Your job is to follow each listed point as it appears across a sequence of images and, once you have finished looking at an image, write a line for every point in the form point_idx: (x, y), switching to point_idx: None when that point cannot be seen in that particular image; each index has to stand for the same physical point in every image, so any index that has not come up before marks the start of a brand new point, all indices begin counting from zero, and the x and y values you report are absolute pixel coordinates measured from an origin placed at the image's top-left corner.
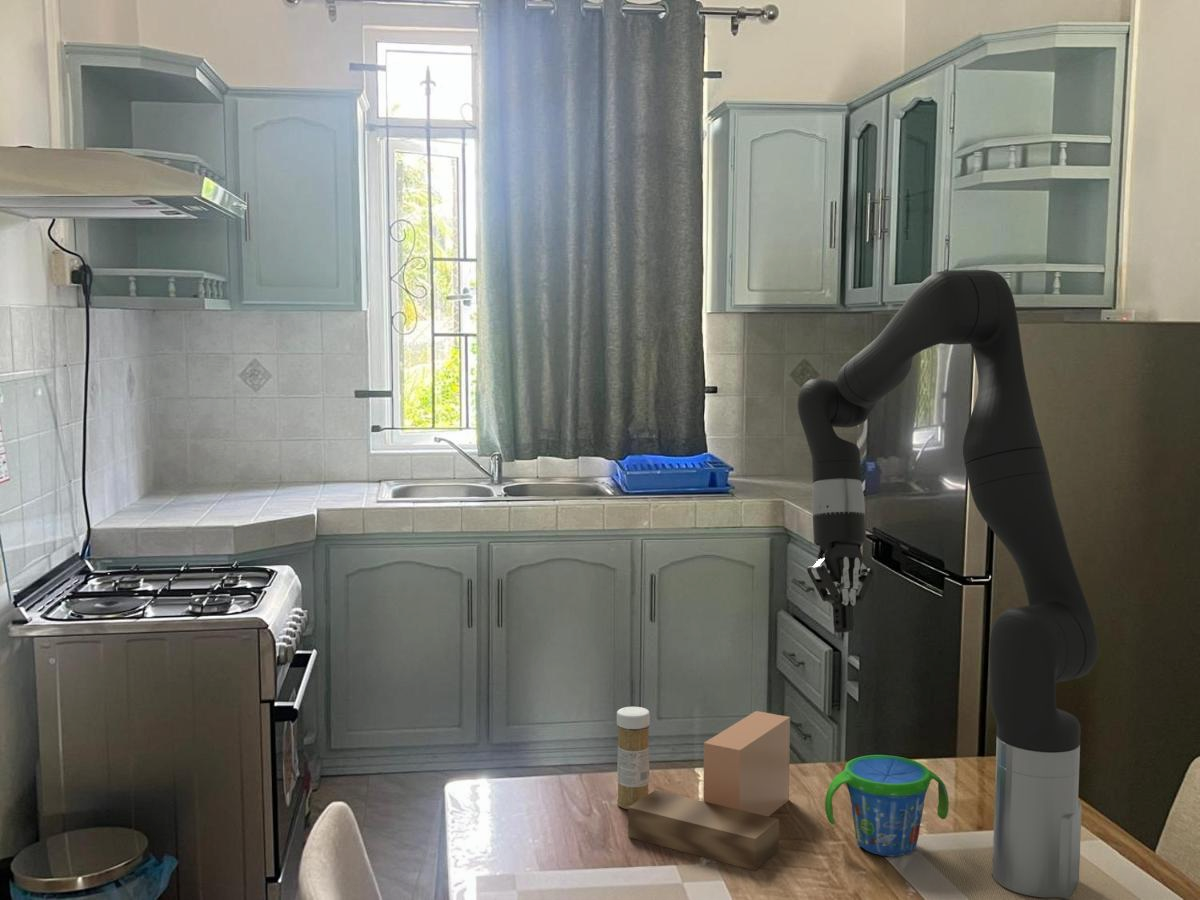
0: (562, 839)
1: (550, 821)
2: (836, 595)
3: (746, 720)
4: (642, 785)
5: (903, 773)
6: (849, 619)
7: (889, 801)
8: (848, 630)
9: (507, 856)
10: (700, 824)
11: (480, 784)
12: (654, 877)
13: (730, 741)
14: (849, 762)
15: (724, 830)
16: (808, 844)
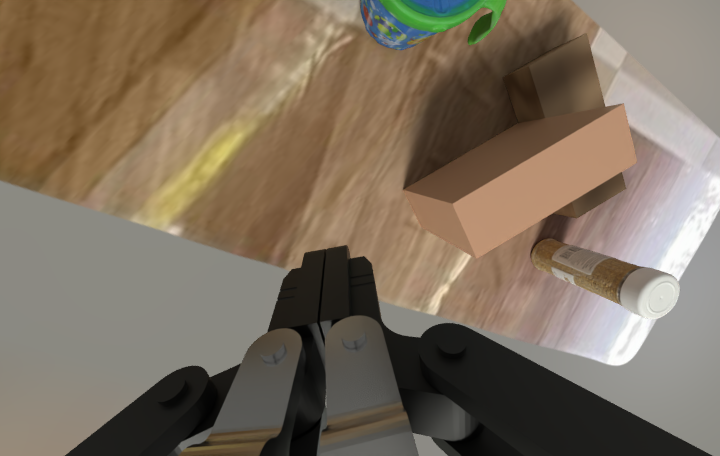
0: (636, 210)
1: (621, 252)
2: (466, 351)
3: (521, 222)
4: (567, 245)
5: None
6: (323, 275)
7: None
8: (334, 248)
9: (686, 200)
10: (603, 105)
11: (616, 353)
12: (629, 93)
13: (606, 147)
14: (469, 10)
15: (595, 75)
16: (467, 71)
